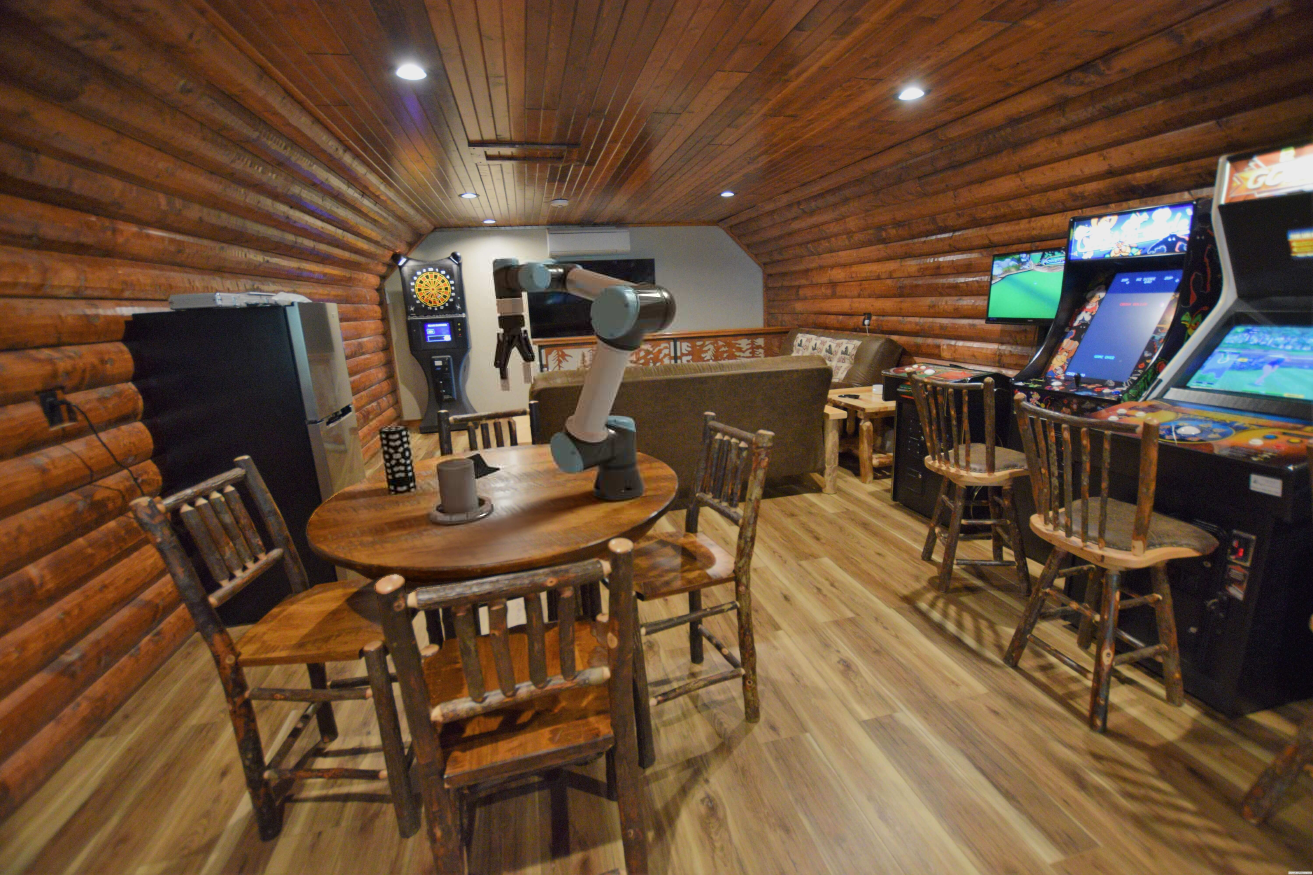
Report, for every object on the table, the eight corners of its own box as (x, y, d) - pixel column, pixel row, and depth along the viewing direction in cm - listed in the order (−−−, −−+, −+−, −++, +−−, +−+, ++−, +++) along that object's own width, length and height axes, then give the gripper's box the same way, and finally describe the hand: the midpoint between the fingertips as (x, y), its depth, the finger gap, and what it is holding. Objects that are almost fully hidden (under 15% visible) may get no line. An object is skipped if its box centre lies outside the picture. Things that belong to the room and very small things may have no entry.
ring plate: (505, 504, 166) (504, 496, 166) (471, 527, 150) (470, 518, 150) (453, 501, 171) (452, 493, 170) (416, 523, 155) (414, 514, 154)
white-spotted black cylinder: (382, 492, 182) (372, 430, 177) (402, 484, 189) (393, 424, 184) (402, 495, 179) (392, 432, 174) (422, 486, 186) (413, 426, 181)
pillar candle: (440, 508, 162) (433, 457, 159) (476, 501, 167) (469, 451, 163) (444, 519, 154) (437, 466, 150) (482, 512, 158) (475, 460, 154)
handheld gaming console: (483, 474, 191) (466, 450, 192) (469, 486, 193) (452, 462, 194) (502, 469, 202) (487, 446, 203) (489, 481, 204) (473, 458, 205)
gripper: (520, 313, 180) (526, 380, 185) (475, 316, 157) (484, 393, 162) (542, 312, 178) (548, 380, 183) (499, 315, 155) (508, 394, 160)
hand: (518, 387), depth 173 cm, fingers open, 13 cm apart
